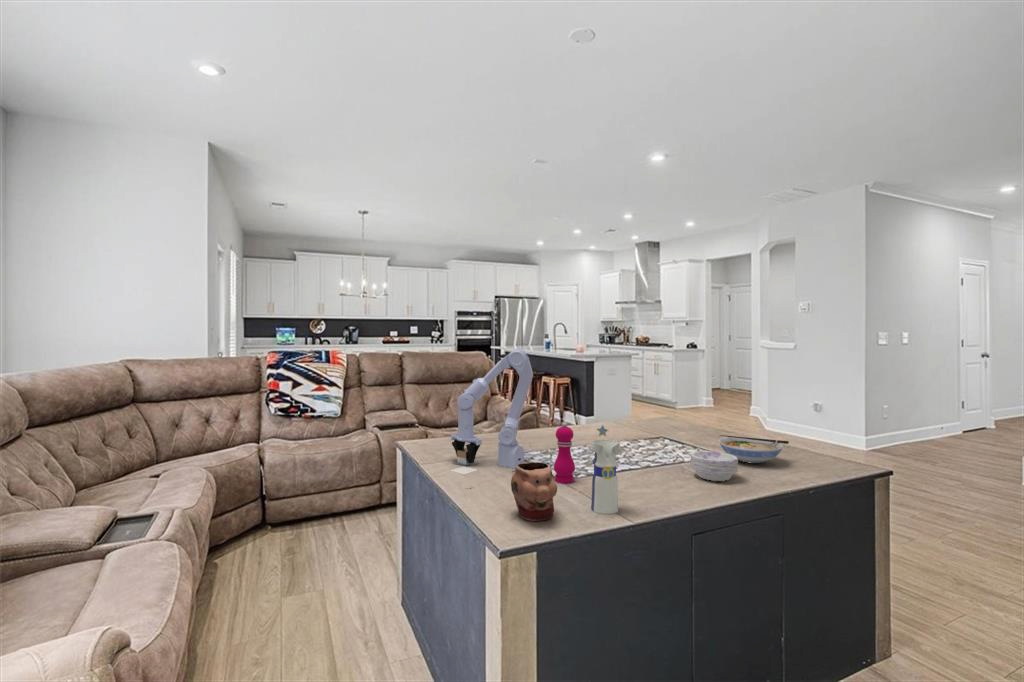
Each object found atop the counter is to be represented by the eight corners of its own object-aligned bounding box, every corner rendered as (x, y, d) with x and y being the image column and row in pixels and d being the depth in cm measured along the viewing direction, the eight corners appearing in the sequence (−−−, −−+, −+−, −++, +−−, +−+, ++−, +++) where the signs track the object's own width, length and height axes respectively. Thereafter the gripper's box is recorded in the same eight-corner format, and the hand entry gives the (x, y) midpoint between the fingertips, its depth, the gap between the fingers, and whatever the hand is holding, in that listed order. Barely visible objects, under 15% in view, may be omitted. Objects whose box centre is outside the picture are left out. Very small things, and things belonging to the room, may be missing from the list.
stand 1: (479, 466, 188) (479, 462, 188) (465, 470, 182) (465, 466, 182) (465, 462, 192) (465, 459, 192) (452, 466, 187) (452, 463, 187)
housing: (474, 463, 187) (474, 449, 187) (465, 465, 184) (465, 452, 184) (465, 460, 190) (465, 447, 190) (457, 463, 187) (457, 450, 187)
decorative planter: (499, 504, 147) (499, 457, 146) (537, 499, 151) (537, 453, 151) (527, 530, 128) (528, 476, 128) (569, 523, 133) (569, 471, 132)
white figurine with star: (624, 514, 139) (625, 425, 139) (594, 515, 139) (595, 425, 138) (616, 503, 148) (616, 419, 147) (587, 504, 147) (588, 419, 146)
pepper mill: (576, 478, 172) (577, 420, 172) (572, 484, 165) (572, 424, 165) (556, 476, 175) (556, 419, 174) (551, 482, 168) (551, 423, 167)
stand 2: (477, 473, 178) (477, 469, 178) (464, 477, 173) (464, 474, 173) (464, 469, 183) (464, 466, 183) (450, 473, 177) (450, 470, 177)
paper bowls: (718, 470, 183) (718, 448, 183) (747, 483, 168) (747, 459, 168) (681, 473, 179) (681, 451, 179) (707, 486, 164) (708, 462, 164)
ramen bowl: (709, 463, 193) (709, 442, 193) (722, 451, 212) (722, 431, 211) (782, 474, 178) (782, 451, 178) (789, 460, 197) (789, 439, 197)
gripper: (444, 424, 188) (444, 460, 189) (472, 429, 179) (472, 467, 179) (458, 421, 194) (458, 456, 194) (485, 426, 184) (485, 462, 185)
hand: (465, 461), depth 187 cm, fingers open, 5 cm apart
